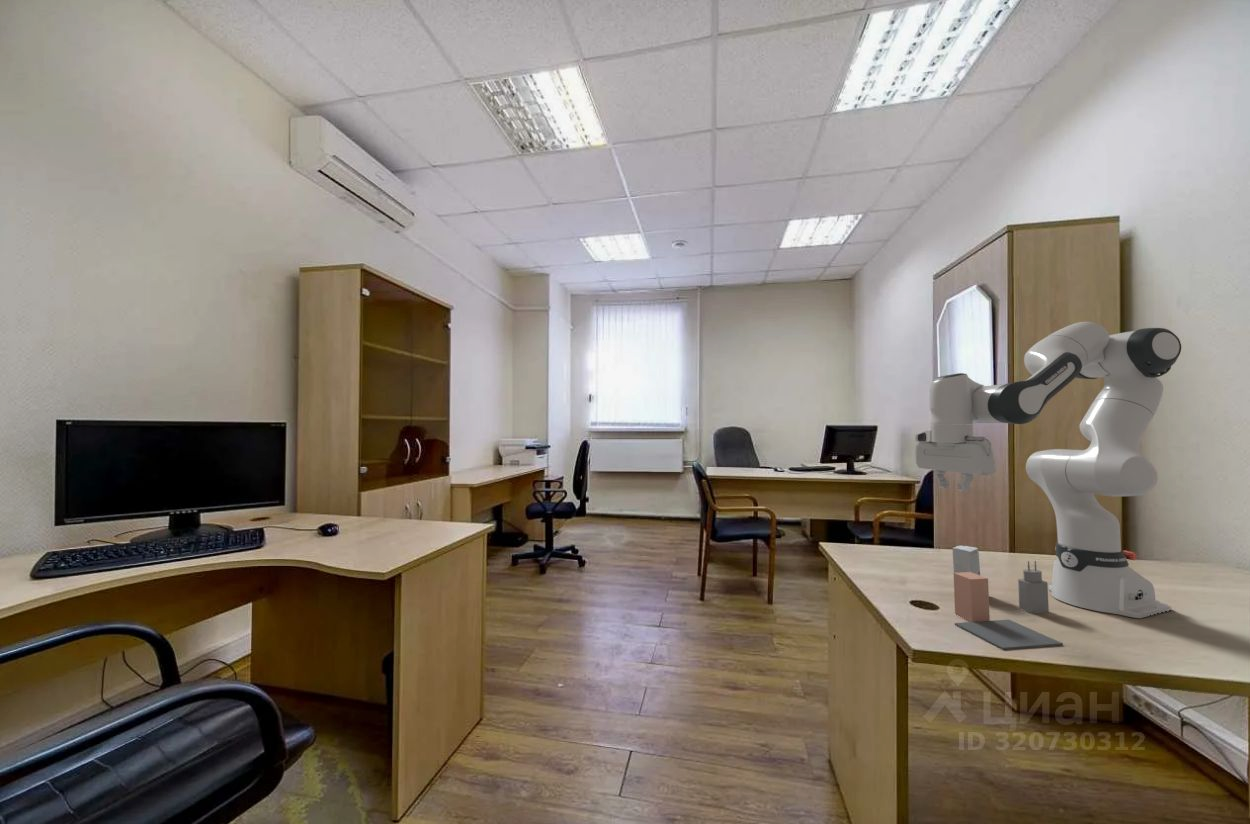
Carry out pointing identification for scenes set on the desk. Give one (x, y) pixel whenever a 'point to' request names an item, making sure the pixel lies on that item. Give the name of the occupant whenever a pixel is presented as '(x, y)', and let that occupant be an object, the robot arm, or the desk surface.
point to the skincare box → (966, 559)
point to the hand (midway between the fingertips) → (953, 489)
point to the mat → (1007, 634)
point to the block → (971, 596)
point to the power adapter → (1033, 591)
